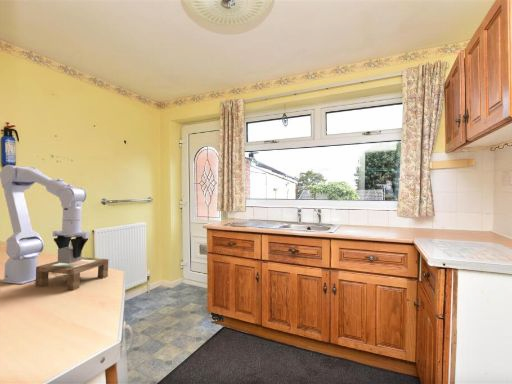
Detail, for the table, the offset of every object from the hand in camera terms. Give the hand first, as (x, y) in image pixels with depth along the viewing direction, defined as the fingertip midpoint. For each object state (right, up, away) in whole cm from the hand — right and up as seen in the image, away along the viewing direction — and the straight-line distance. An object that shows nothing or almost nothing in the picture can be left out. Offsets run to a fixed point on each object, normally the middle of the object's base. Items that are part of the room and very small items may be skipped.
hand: (70, 256), depth 93 cm
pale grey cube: (0, -2, 0) cm, 2 cm away
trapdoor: (-1, -4, +4) cm, 6 cm away
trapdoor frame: (-2, -10, +4) cm, 11 cm away
